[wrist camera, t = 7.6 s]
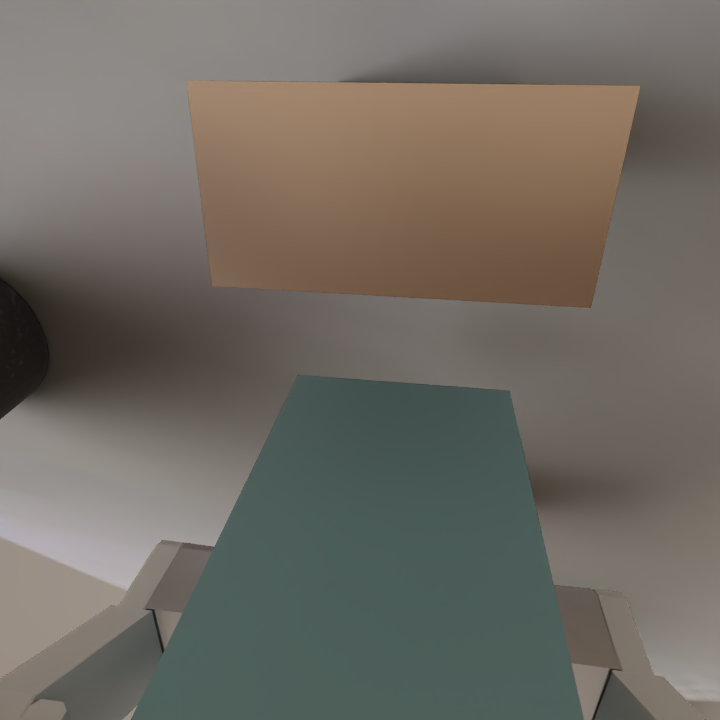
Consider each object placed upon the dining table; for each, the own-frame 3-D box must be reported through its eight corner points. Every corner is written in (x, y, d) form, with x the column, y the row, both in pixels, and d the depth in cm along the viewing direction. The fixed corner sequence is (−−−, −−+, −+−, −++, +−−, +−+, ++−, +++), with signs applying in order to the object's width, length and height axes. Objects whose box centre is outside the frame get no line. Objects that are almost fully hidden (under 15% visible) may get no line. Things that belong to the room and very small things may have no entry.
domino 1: (336, 82, 18) (186, 80, 7) (519, 83, 17) (641, 85, 7) (337, 175, 19) (211, 285, 9) (506, 180, 19) (590, 307, 8)
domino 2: (298, 374, 16) (-4, 997, 5) (509, 390, 15) (680, 1149, 4) (302, 458, 17) (73, 1082, 6) (495, 475, 16) (600, 1208, 6)
